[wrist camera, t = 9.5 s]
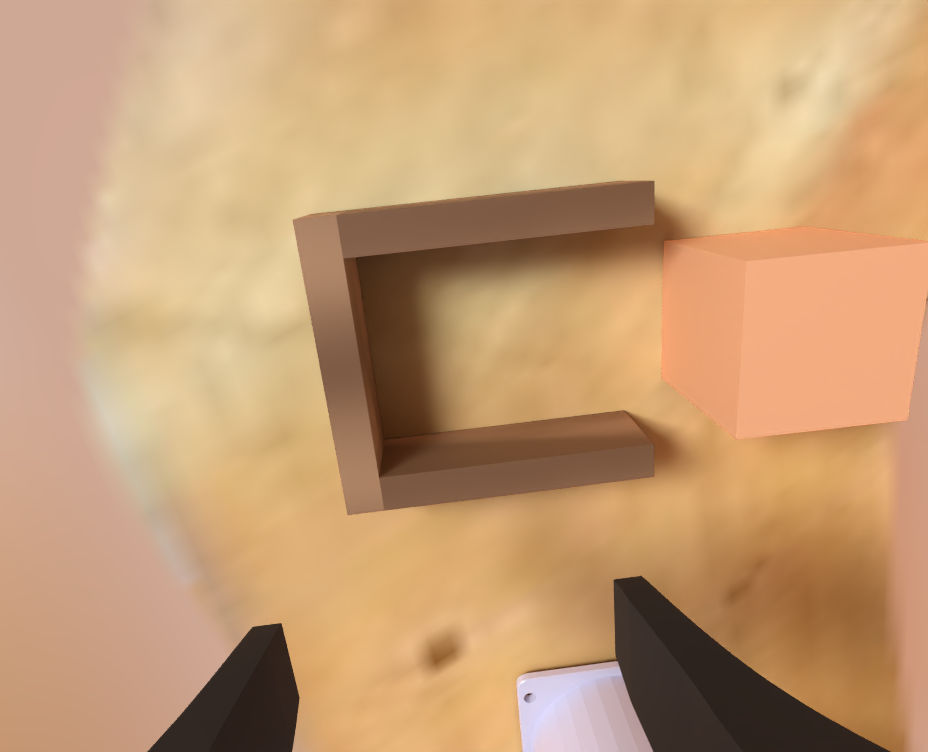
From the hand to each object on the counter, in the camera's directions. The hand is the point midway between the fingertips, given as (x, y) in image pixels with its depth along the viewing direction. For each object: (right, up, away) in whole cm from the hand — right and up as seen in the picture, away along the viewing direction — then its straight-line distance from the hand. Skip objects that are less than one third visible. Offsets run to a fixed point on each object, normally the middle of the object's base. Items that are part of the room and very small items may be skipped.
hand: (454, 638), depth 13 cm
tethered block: (+14, +9, +9) cm, 19 cm away
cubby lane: (+1, +7, +8) cm, 11 cm away
